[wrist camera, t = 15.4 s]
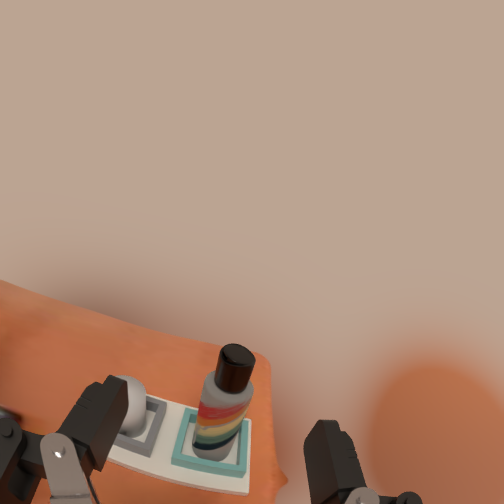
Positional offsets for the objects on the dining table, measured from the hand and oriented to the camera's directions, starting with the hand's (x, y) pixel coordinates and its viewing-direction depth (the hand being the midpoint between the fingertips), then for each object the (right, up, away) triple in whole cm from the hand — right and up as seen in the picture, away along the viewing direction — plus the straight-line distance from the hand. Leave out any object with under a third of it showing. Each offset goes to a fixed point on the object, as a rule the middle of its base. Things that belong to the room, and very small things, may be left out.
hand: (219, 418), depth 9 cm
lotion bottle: (-5, -22, +22) cm, 32 cm away
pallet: (-12, -22, +23) cm, 34 cm away
